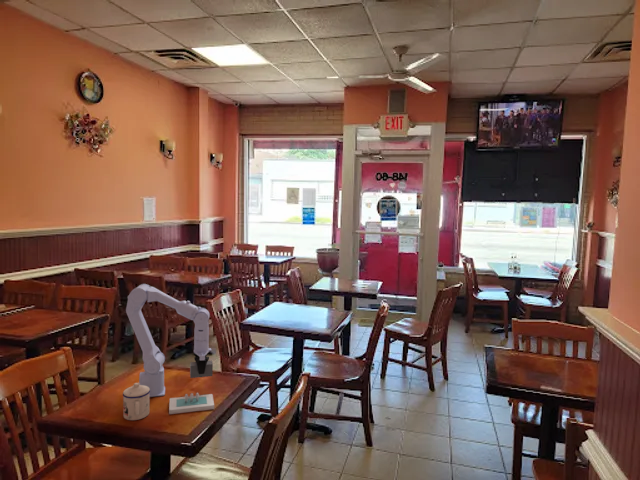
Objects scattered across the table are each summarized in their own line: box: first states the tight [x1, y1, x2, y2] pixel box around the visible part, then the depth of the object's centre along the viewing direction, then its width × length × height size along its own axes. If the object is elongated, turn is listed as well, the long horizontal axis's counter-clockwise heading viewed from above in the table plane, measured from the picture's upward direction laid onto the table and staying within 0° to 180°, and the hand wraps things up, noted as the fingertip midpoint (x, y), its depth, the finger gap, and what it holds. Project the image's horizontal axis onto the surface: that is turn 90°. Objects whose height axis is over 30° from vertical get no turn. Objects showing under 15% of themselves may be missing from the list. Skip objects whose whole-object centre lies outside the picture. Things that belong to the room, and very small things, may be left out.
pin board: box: [168, 392, 215, 415], centre depth 162 cm, size 16×10×5 cm, turn 108°
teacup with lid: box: [122, 382, 150, 421], centre depth 152 cm, size 12×9×12 cm
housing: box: [189, 360, 214, 379], centre depth 174 cm, size 9×4×5 cm, turn 108°
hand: (201, 371), depth 174 cm, fingers closed on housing, 4 cm apart
